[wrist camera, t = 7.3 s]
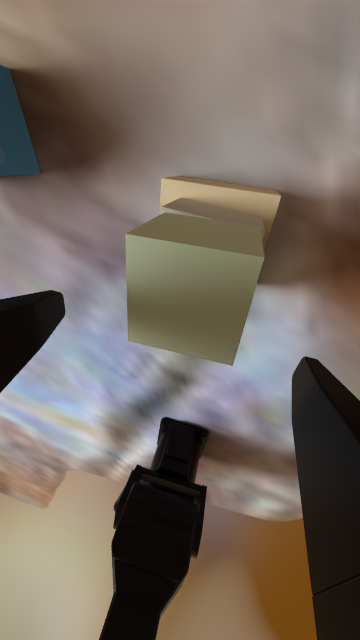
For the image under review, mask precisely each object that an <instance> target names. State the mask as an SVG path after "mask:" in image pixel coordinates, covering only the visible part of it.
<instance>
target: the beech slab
mask: <svg viewBox="0 0 360 640" xmlns="http://www.w3.org/2000/svg"><path fill="white" fill-rule="evenodd" d="M179 198H186V199H190V200H194V201H198V202H202V203H207V204H211V205H215V206H219V207H224V208H228V209H232V210H236V211H240V212H245V213H249V214H253V215H257V216H261V217H262V218H263V223H264V228H265V234H264V237H263V240H262V244H263V251H265V248H266V245H267V241H268V238H269V235H270V232H271V228H272V225H273V222H274V219H275V215H276V212H277V209H278V205H279V202H280V199H281V195H280V194H279V193H278V192H277V191H276V190H271V189H264V188H257V187H250V186H243V185H236V184H229V183H222V182H215V181H209V180H202V179H195V178H188V177H181V176H173V177H166V178H162V180H161V196H160V213H161V207H162V206H164V205H166V204H168V203H170V202H172V201H174V200H177V199H179ZM160 213H159V215H160Z"/></svg>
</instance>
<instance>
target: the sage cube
mask: <svg viewBox="0 0 360 640" xmlns="http://www.w3.org/2000/svg"><path fill="white" fill-rule="evenodd" d="M125 236H126V275H127V314H128V341H131V342H135V343H139V344H143V345H148V346H152V347H156V348H160V349H164V350H169V351H173V352H177V353H181V354H185V355H190V356H194V357H198V358H202V359H206V360H210V361H215V362H219V363H223V364H227V365H231V366H233V363H234V359H235V356H236V352H237V349H238V346H239V342H240V339H241V336H242V332H243V329H244V325H245V322H246V319H247V315H248V312H249V308H250V305H251V302H252V298H253V295H254V292H255V288H256V285H257V281H258V278H259V275H260V271H261V268H262V264H263V261H264V251H263V244H262V237H261V230H260V227H258V226H252V225H245V224H238V223H232V222H225V221H219V220H212V219H206V218H199V217H192V216H186V215H179V214H173V213H166V212H165V213H163V214H161V215H159V216H157V217H155V218H154V219H152V220H150V221H148V222H146V223H145V224H143V225H141V226H139V227H137V228H135V229H134V230H132V231H130V232H128V233H126V234H125Z"/></svg>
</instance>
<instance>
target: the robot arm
mask: <svg viewBox="0 0 360 640" xmlns="http://www.w3.org/2000/svg"><path fill="white" fill-rule="evenodd" d="M64 315H65V305H64V298H63V295H62V293H60V292H57V291H53V290H48V291H43V292H38V293H32V294H27V295H22V296H16V297H11V298H6V299H0V393H1V392H2V391H3V389H4V388H5V387H6V386H7V385H8V384H9V383H10V382H11V381H12V380H13V378H14V377H15V376H16V375H17V374H18V373H19V372H20V371H21V370H22V368H23V367H24V366H25V365H26V364H27V363H28V362H29V361H30V360H31V358H32V357H33V356H34V355H35V354H36V353H37V352H38V351H39V350H40V348H41V347H42V346H43V345H44V343H45V342H46V341H47V339H48V338H49V337H50V335H51V334H52V333H53V331H54V330H55V328H56V327H57V326H58V324H59V323H60V322H61V320H62V319H63V317H64ZM292 427H293V436H294V444H295V453H296V461H297V470H298V478H299V487H300V495H301V504H302V512H303V521H304V529H305V538H306V546H307V555H308V564H309V572H310V580H311V589H312V594H313V597H312V599H313V608H314V617H315V625H316V634H317V640H360V401H359V400H358V399H357V398H356V397H355V396H354V395H353V394H352V393H351V392H350V391H349V390H348V389H347V388H346V387H345V386H344V385H343V384H342V383H341V382H340V381H339V380H338V379H337V378H336V377H335V376H334V375H333V374H332V373H331V372H330V371H329V370H328V369H327V368H326V367H324V366H323V365H322V364H321V363H320V362H319V361H318V360H317V359H314V358H310V357H306V356H305V357H303V358H302V359H301V361H300V363H299V364H298V366H297V368H296V370H295V371H294V373H293V376H292ZM208 434H209V433H208V432H207V431H205V430H202V429H199V428H196V427H193V426H189V425H186V424H183V423H180V422H177V421H173V420H170V419H167V418H162V419H161V423H160V429H159V436H158V442H157V445H158V446H157V449H156V452H155V455H154V458H153V461H152V464H151V467H150V469H147V468H144V467H141V465H138V464H137V466H136V468H135V470H132V472H131V474H130V477H129V479H128V482H127V484H126V486H125V488H124V490H123V491H122V493H121V494H120V496H119V497H118V499H117V501H116V503H115V505H114V511H115V520H114V526H113V528H114V529H116V531H115V534H114V537H113V540H112V546H111V547H112V567H113V588H114V594H113V598H112V601H111V604H110V607H109V610H108V614H107V617H106V620H105V623H104V626H103V629H102V632H101V635H100V638H99V640H155V639H156V634H157V629H158V624H159V619H160V617H161V616H162V615H163V613H164V612H165V610H166V609H167V607H168V606H169V604H170V603H171V601H172V600H173V598H174V596H175V595H176V594H177V592H178V591H179V589H180V588H181V586H182V584H183V582H184V579H185V577H186V575H187V572H188V569H189V563H190V557H193V558H197V555H198V550H199V545H200V539H201V534H202V527H203V519H204V509H205V500H206V490H207V486H204V485H202V486H201V485H198V484H195V479H196V473H197V467H198V462H199V459H200V458H201V455H202V452H203V449H204V447H205V444H206V441H207V438H208Z"/></svg>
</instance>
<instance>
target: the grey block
mask: <svg viewBox="0 0 360 640" xmlns="http://www.w3.org/2000/svg"><path fill="white" fill-rule="evenodd" d="M165 212H166V213H173V214H179V215H186V216H192V217H199V218H206V219H212V220H219V221H225V222H232V223H238V224H245V225H252V226H258V227H260V230H261V237H262V240H263V237H264V234H265V228H264V223H263V218H262V217H261V216H257V215H253V214H249V213H245V212H240V211H236V210H232V209H228V208H224V207H219V206H215V205H211V204H207V203H202V202H198V201H194V200H190V199H186V198H179V199H177V200H174V201H172V202H170V203H168V204H166V205H164V206H162V207H161V213H160V215H161V214H163V213H165Z"/></svg>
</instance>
